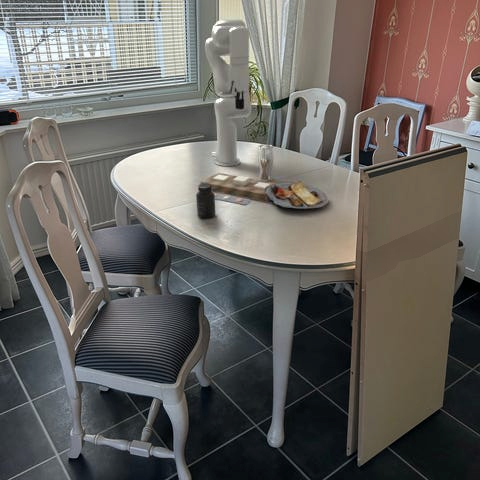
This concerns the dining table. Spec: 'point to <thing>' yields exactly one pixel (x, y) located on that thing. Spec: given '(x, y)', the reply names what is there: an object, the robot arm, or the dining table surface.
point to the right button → (261, 186)
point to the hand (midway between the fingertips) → (239, 108)
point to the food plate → (296, 195)
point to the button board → (238, 188)
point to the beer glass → (265, 162)
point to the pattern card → (231, 199)
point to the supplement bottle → (205, 201)
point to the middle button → (241, 181)
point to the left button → (221, 178)
